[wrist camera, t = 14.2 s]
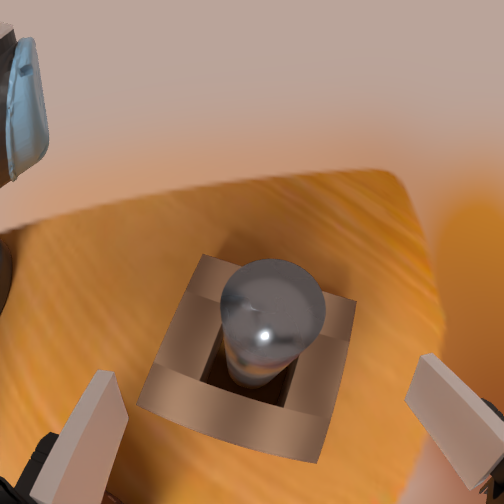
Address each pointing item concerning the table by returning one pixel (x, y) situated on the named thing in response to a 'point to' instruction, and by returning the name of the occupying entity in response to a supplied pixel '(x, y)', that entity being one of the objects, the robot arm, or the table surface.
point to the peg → (268, 319)
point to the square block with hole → (236, 406)
